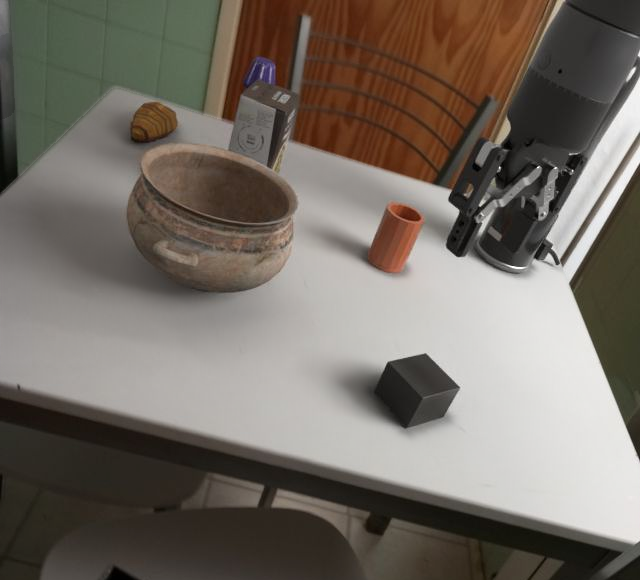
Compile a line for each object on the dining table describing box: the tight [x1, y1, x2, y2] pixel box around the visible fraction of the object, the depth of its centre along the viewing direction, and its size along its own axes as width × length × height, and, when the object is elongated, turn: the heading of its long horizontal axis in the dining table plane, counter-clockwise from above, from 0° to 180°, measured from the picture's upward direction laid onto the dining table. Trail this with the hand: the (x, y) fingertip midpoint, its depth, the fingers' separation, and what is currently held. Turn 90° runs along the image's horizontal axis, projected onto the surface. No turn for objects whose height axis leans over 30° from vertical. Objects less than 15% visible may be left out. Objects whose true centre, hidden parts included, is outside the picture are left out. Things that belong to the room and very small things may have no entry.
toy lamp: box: [242, 56, 276, 90], centre depth 101 cm, size 5×5×17 cm
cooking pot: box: [125, 142, 300, 294], centre depth 79 cm, size 25×19×12 cm
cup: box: [366, 201, 426, 274], centre depth 97 cm, size 6×6×8 cm
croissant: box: [129, 101, 179, 144], centre depth 105 cm, size 14×7×5 cm, turn 165°
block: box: [373, 352, 461, 429], centre depth 75 cm, size 6×6×4 cm
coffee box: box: [227, 79, 301, 175], centre depth 93 cm, size 9×6×16 cm
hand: (483, 250), depth 66 cm, fingers open, 8 cm apart
